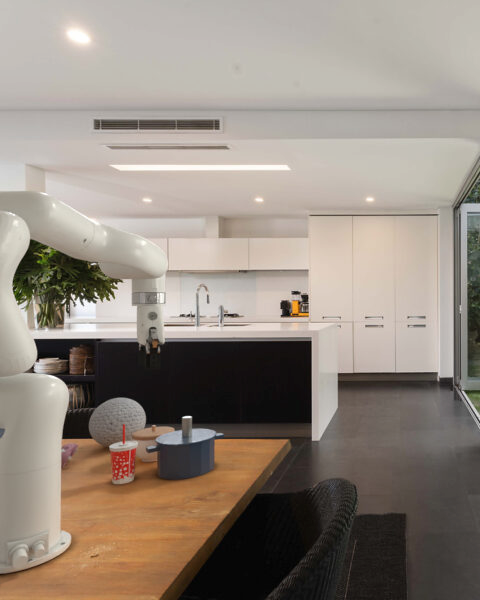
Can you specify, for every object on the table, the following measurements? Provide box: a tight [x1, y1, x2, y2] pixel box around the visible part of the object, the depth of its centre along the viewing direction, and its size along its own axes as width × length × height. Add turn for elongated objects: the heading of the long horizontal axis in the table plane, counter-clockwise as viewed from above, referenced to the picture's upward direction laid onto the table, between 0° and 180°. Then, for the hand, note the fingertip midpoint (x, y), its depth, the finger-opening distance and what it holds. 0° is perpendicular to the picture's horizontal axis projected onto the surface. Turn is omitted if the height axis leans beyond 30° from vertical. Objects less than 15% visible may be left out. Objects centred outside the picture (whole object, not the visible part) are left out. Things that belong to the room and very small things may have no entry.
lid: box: [156, 415, 217, 446], centre depth 120 cm, size 15×15×6 cm
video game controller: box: [61, 442, 79, 469], centre depth 122 cm, size 10×5×7 cm, turn 22°
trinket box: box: [132, 424, 176, 463], centre depth 128 cm, size 11×11×9 cm
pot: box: [146, 432, 225, 481], centre depth 119 cm, size 14×19×8 cm
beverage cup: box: [108, 424, 138, 485], centre depth 112 cm, size 6×6×14 cm
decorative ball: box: [88, 397, 147, 448], centre depth 140 cm, size 15×15×15 cm
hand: (149, 367), depth 114 cm, fingers open, 9 cm apart
